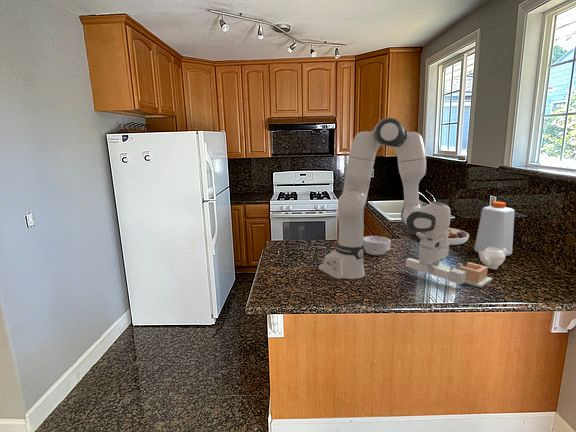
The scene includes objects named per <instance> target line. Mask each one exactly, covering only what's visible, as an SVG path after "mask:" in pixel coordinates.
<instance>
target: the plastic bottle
mask: <svg viewBox="0 0 576 432" xmlns="http://www.w3.org/2000/svg"><path fill="white" fill-rule="evenodd" d="M506 205H507V203H506V202H503V201H492V205H488V206H484V207H483V208H482V209H481V214H480V218H479V225H478V229H477V235H476V239H475V245H474V247H473V248H474V251H475V252H476V253H478V254H479V251H482V252H483V251H484V250H485V249H486V248H488V247H494V248H499V249H501V250H503V249H506V250H507V252H508V253H506V252H505V257H508V256H511V255H512V254H513V245H514V244H513V242H514V226H515V209H513V208H511V207H507V206H506Z"/></svg>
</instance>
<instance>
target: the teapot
mask: <svg viewBox="0 0 576 432" xmlns="http://www.w3.org/2000/svg"><path fill="white" fill-rule="evenodd" d="M505 252H506V253H508V252H507V250H506V249H503V250H501V249H499V248H494V247H488V248H486V249H485V250H484V251H483V252H482V251H479V253H478V257H479V259H480V262H481V263H482V264H483V266H486V267H488V269H491V270H498V268H499V266H500V265H502V264H503V263H504V262H505V260H506V256H505Z"/></svg>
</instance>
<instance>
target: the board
mask: <svg viewBox="0 0 576 432" xmlns="http://www.w3.org/2000/svg"><path fill="white" fill-rule="evenodd" d="M433 265H434V263H433ZM438 266H439V267H443V268H446V269H450V270H452V269H454V268H455V269H459V270H462V271H465V272H466V278H465V282H464V284H467V285H471V286H473V287H478V288H481V289H482V288H483V287H485V286H486V285H487V284H490V283H491V282H492V281H493V277H489V276H488V270H489V268H488V267H486V265H482V264H477V263H474V262H469V261H468V262H466V266H464V263H461V262H458V263H457V264H456V266H449V265H445V264H442V263H439V265H438Z"/></svg>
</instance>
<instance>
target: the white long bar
mask: <svg viewBox="0 0 576 432" xmlns="http://www.w3.org/2000/svg"><path fill="white" fill-rule="evenodd" d="M405 267H406V268H409V269H413V270H415V271H418V272H421V273H425V274H428V275H432V276H435V277H438V278H441V279H444V280H447V281H448V282H452V283H454V284H457V285H462V284H463V283H464V282H465V278H466V272H465V271H462V270H459V269H455V268H454V269H452V270H450V269H446V268H443V267H439V266H436V265H432V267H433V271H432V272H429V271H428V270H427V269H428V267H427V265H423V264H420V263H419V259H415V258H412V257H408V258H406V259H405ZM464 284H465V283H464Z"/></svg>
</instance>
